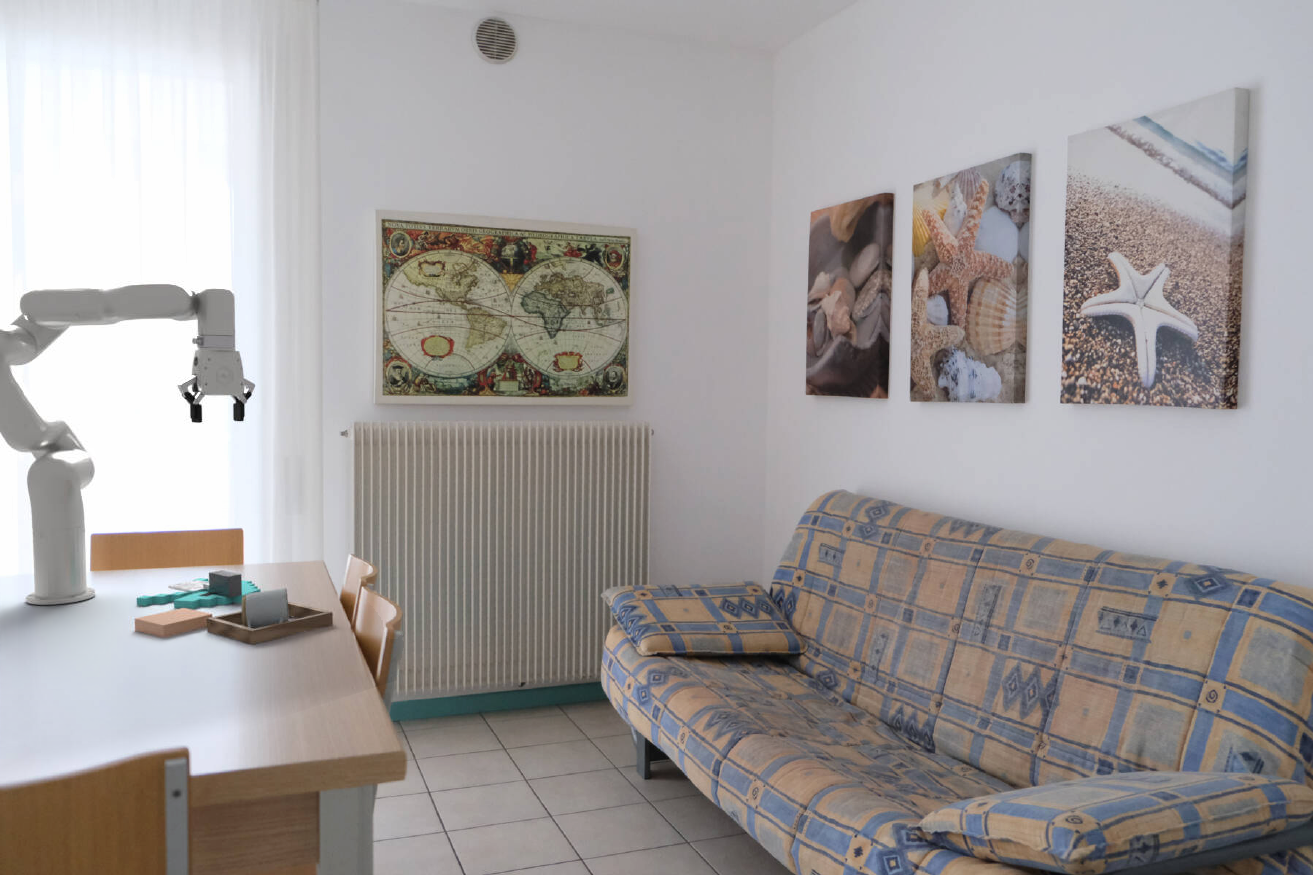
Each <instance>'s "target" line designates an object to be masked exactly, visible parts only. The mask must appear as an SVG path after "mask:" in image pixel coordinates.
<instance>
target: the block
mask: <svg viewBox="0 0 1313 875" xmlns="http://www.w3.org/2000/svg"><path fill="white" fill-rule="evenodd" d="M210 617H213V614H212V613H209V612H206V611H204V612H203V611H199V610H195V609H187V608H175V609H173V610H172V609H171V610H168V611H165V612H164V611H163V612H158V613H153V614H151V615H145V616H139V617H135V618H134V632H139V631H140V632H139V633H144V634H148V635H151V634H152V635H151V636H157V637H160V638H167V637H171V636H175V635H179V634H182V633H183V634H184V633H187V632H191V631H195V630H200V629H204V628H207V618H210Z"/></svg>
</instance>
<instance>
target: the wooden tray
mask: <svg viewBox="0 0 1313 875" xmlns="http://www.w3.org/2000/svg"><path fill="white" fill-rule="evenodd" d="M288 613H289V615H290V616H289V617H291V616H293V617H292V618H294V619H291V620H290V619H289V621H286V622H282V623H277V624H273V625H269V626H264V627H260V628H256V629H253V628H249V627H245V626H243V622H242V610H240V611H235V612H230V613H225V614H220V615H215V616H212V617H210V618H207V627H206V631H207V632H208V633H212V634H215V635H219V636H222V637H224V638H229V639H231V640H235V639H236V640H235V641H238V640H239V642H242V643H245V642H247V643H246V644H249V645H257V644H260V643H259V642H261V643H265V642H268V641H273V640H277V639H281V638H284V637H285V638H286V637H289V636H293V634H294V635H297V634H301V632H302V633H304V631H306V632H309V631H313V629H314V630H318V629H321V628H325V627H330V626H333V625H334V621H333V620H334V619H333V616H334V614H333V612H332V611H328V610H325V609H320V608H317V607H316V608H315V607H312V606H308V605H304V604H299V603H296V602H291V601H288Z"/></svg>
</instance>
